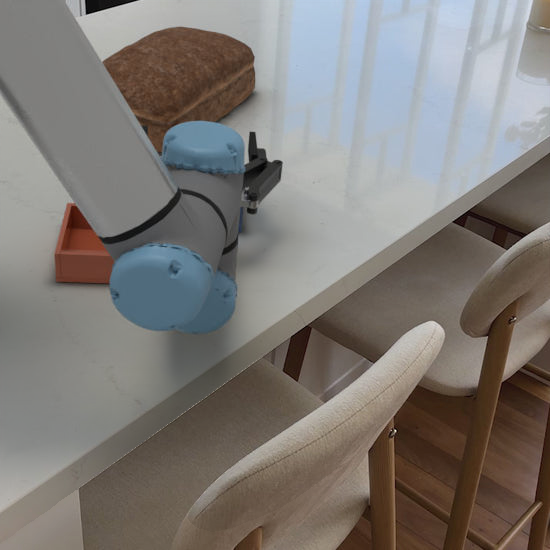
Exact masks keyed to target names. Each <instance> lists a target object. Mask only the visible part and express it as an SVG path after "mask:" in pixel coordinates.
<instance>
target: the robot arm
mask: <svg viewBox="0 0 550 550" xmlns="http://www.w3.org/2000/svg"><path fill="white" fill-rule="evenodd" d="M102 62H103V61H102V59H101V58H100V57H99V55H98V53H97V51H96V50H95V48H94V46H93V45H92V43H91V42H90V40H89V38H88V36H87V35H86V33H85V32H84V30H83V29H82V27H81V25H80V24H79V22H78V20H77V19H76V17H75V16H74V14H73V12H72V11H71V9H70V7H69V6H68V4H67V3H66V1H65V0H0V97H1V98H2V100H3V102H4V103H5V104H6V106H7V107H8V108H9V110H10V112H11V113H12V114H13V116H14V118H15V119H16V120H17V121H18V123H19V124H20V127H22V129H23V130H24V132H25V133H26V135H27V136H28V137H29V139H30V140H31V142H32V144H33V145H34V146H35V148H36V150H38V152H39V153H40V155H41V156H42V158H43V159H44V161H45V162H46V163H47V165H48V167H49V168H50V170H51V171H52V172H53V174H54V175H55V177H56V178H57V180H58V181H59V182H60V184H61V185H62V187H63V189H64V190H65V191H66V193H67V194H68V196H69V197H70V198H71V200H72V202H73V203H75V204H76V205H77V207H78V208H79V210H80V211H81V213H82V214H83V216H84V217H85V218H86V220H87V221H88V223H89V224H90V226H91V227H92V229H93V230H94V232H95V233H96V234H97V236H98V237H99V239H100V240H101V242H102V244H103V245H104V247H105V249H106V250H107V251H108V253H109V254H110V256H111V257H112V259H113V260H114V264H113V266H112V272H111V277H110V283H109V294H110V299H111V302H112V304H113V305H114V307H115V309H116V310H117V311H118V313H119V314H120V315H121V316H122V317H123V318H125V319H126V320H127V321H129V322H130V323H132V324H133V325H135V326H137V327H139V328H141V329H145V330H147V331H148V330H149V331H154V332H169V331H174V330H176V331H179V332H181V333H185V334H189V335H191V334H192V335H204V334H209V333H212V332H215V331H217V330H220V329H221V328H223V326H225V325H226V324H227V323H228V322H229V321H230V319H232V317H233V315H234V313H235V309H236V302H237V296H238V295H237V293H238V284H237V283H236V274H237V273H236V272H237V260H238V249H239V248H238V247H239V232H238V228H239V217H240V207H243V208H244V209H246V213H247V214H248V215H257V213H258V208H259V205H260V204H261V202H263V201H264V199H265V198H266V197H267V196H268V195H269V194H270V193H271V192H272V191H273V190H274V188H276V186H277V185H279V183H280V182H281V181H282V175H283V174H282V173H283V160H280V159H274V160H272V161H269V160H268V157H267V151H266V149H265V148H260V147H259V148H258V143H257V133H256V131H249V134H248V144H247V145H248V147H247V156H248V162H247V163H245V156H246V155H245V151H246V145H245V141H244V138H243V137H242V135H241V134H240V133H239V132H238V131H236V130H235V129H233V128H232V127H230V126H228V125H226V124H222V123H219V122H216V121H215V122H208V121H190V122H185V123H181V124H178V125H176V126H174V127H172V128H171V129H170V130H168V131H167V133H166V134H165V136H164V139H163V149H162V152H161V156H160V154H159V152H158V151H156V149H155V148H154V146H153V144H152V143H151V141H150V140H149V138H148V126H144V125H142V127H141V125H140V123H139V122H138V120H137V118H136V117H135V115H134V113H133V112H132V110H131V109H130V107H129V105H128V104H127V102H126V100H125V99H124V97H123V95H122V94H121V92H120V91H119V89H118V87H117V86H116V84H115V82H114V81H113V79H112V78H111V76H110V74H109V73H108V71H107V69H106V68H105V66H104V64H103V63H102Z"/></svg>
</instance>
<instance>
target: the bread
mask: <svg viewBox="0 0 550 550" xmlns="http://www.w3.org/2000/svg"><path fill="white" fill-rule="evenodd" d="M255 58H256V56H255V55H254V52H253V50H252V48H251V47H250V46H249V45H248V44H246V43H244V42H242V41H241V40H239V39H236V38H235V37H232V36H230V35H228V34H225V33H221V32H217V31H211V30H205V29H200V28H195V27H187V26H172V27H167V28H164V29H160V30H156V31H154V32H151V33H149V34H147V35H145V36H143V37H142V38H140V39H138V40H137V41H135V42H133V43H131V44H129V45H128V44H127V45H125V46H124V47H123V48H121V49H119V50H118V51H117V52H114V53H113V54H111V55H110V56H108V57H107V58H105V59H104V60H103V61H102V63H103V64H104V66H105V68H106V69H107V71H108V73H109V74H110V76H111V78H112V79H113V81H114V82H115V84H116V86H117V87H118V89H119V91H120V92H121V94H122V95H123V97H124V99H125V100H126V102H127V104H128V105H129V107H130V109H131V110H132V112H133V113H134V115H135V117H136V118H137V120H138V122H139V123H140V125H141V127H142V125H144V126H148V138H149V140H150V141H151V143H152V144H153V146H154V148H155V149H156V151H157V153H162V149H163V139H164V136H165V134H166V133H167V131H168V130H170V129H171V128H172V127H174V126H176V125H178V124H181V123H185V122H190V121H208V122H215V123H216V122H217V121H218V120H219V119H221V118H223V117H224V116H227V115H228V114H230V112H232V111H233V110H234V109H235V108H236V107H238V106H240V104H242V103H243V102H244V101H245V100H246V99H248V97H249V96H250V95H251V94H252V92H253V91H254V90H255V89H256V70H255V65H254V64H255Z"/></svg>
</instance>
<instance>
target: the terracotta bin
mask: <svg viewBox="0 0 550 550" xmlns="http://www.w3.org/2000/svg"><path fill="white" fill-rule="evenodd" d="M56 241H57V242H56V246H55V249H54V255H53V256H54V269H55V270H54V271H55V282H56V283H78V284H79V283H81V284H84V283H85V284H110V277H111V272H112V266H113V264H114V260H113V259H112V257H111V256H110V254H109V253H108V251H107V250H106V249H105V247H104V245H103V244H102V242H101V240H100V239H99V237H98V236H97V234H96V233H95V232H94V230H93V229H92V227H91V226H90V224H89V223H88V221H87V220H86V218H85V217H84V216H83V214H82V213H81V211H80V210H79V208H78V207H77V205H76V204H75V203H74V202H67V203H66V207H65V210H64V214H63V218H62V222H61V226H60V230H59V233H58V238H57V240H56Z"/></svg>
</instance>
